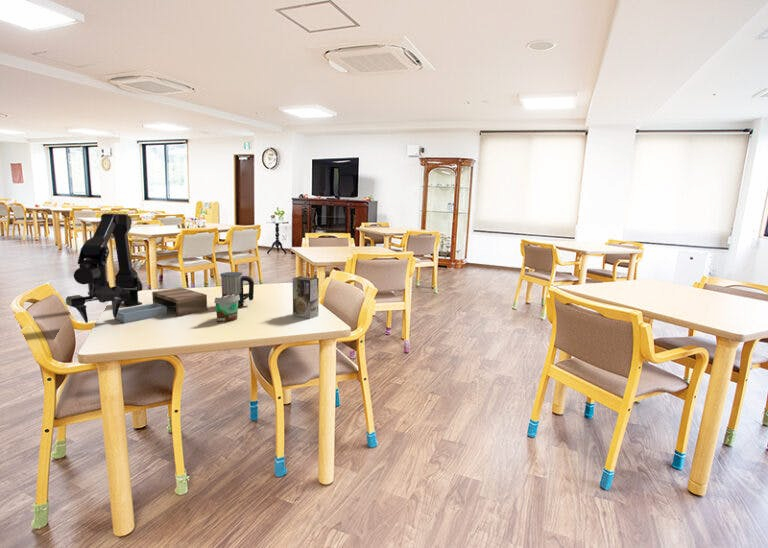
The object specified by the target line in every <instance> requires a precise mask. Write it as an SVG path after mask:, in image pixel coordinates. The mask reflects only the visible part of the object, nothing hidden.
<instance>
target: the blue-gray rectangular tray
mask: <svg viewBox="0 0 768 548" xmlns="http://www.w3.org/2000/svg"><path fill="white" fill-rule="evenodd" d="M167 315H168V308H167V306H164V305H161V304H158V303H153V302H152V303H149V304H144V305H143V304H141V305H136V306H130V307H126V308H121V309H120V308H119V310H118V313H117V316H116V318H114V320H115V321H118V322H120V323H123V324H129V323H134V322H138V321H144V320H149V319H154V318H158V317H163V316H167Z"/></svg>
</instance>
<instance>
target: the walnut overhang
mask: <svg viewBox="0 0 768 548" xmlns="http://www.w3.org/2000/svg"><path fill="white" fill-rule="evenodd" d="M151 294H152V295H151V296H152V304H153V303H158V304H161V305H164V306H165V304H169V303H174V302H175V303H176V307H175V312H176V317H179V318H181V317H184V316H190V315H193V314H198V313H202V312H207V311H208V297H207V294H205V293H202V292H199V291H194V290H192V289H189V288H188V289H187V288H185V287H182V286H181V287H174V288H167V289H161V290H155V291H152V292H151Z"/></svg>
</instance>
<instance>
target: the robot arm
mask: <svg viewBox="0 0 768 548" xmlns="http://www.w3.org/2000/svg"><path fill="white" fill-rule="evenodd" d="M132 222H133V221H132V217H131V216H129V215H128V214H127V213H106V212H105V213H103V214H102V213H101V215H100V221H99V223H98V225H97V228H96V229H95V230H94V231H95V232H94V233H93V236H92V237H90V238H89V239H86V241H85V242H83V243H84V244H83V245H82V247H80V252H79V256H78V259H77V265H79V268H77V269H76V270H75V271H74V273H73V279H74V281H76V282H77V283H78V284H80V285H87V286H88V291H87V295H88V296H87V295H86V296H83V295H80V294H74V295H69V296H67V297H66V299H65V305H67V306H69V307H71V308H75V309H76V310H77V311H78V313H79V315H80V317H82V319H83V320H84V323H85V324H88V322H89V321H88V320H89V318H88V313H87V305H86V303H88V302H92V301H98V302H99V303H106V302H111V309H112V310H111V311H112V316H113V318H114V319H115V318H116V316H117V313H118V310H120V308H121V307H120V306H121V305H122V306H123V307H126V308H129V307H134V306H140V305H143V303H142V302H141V301H139V292H140V291H143V287H144V286H143V283H142V281H141V279H140V277H139V275H138V272H137V271H136V270H135V269H134V268H133V265H132V263H133V262H132V259H131V258H132V257H131V250H130V249H131V248H130V243H129V236H128V234H129V232H130V230H131V229H132ZM112 235H113V236H114V237H113V238H114V243H115V250H116V257H117V263H118V271H117V273H116V275H114V278H115V279H114V281H115V282H114V284H115V286H110V282H109V281H108V278H107V277H108V275H107V263H108V259H109V258H108V257H109V255H110V248H109V246H108V244H109V241H110V238H111V237H112Z"/></svg>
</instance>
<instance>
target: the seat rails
mask: <svg viewBox="0 0 768 548" xmlns="http://www.w3.org/2000/svg"><path fill="white" fill-rule="evenodd" d="M165 306H167V309H171V308H176V303H175V302H174V303H169V304H165Z"/></svg>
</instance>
